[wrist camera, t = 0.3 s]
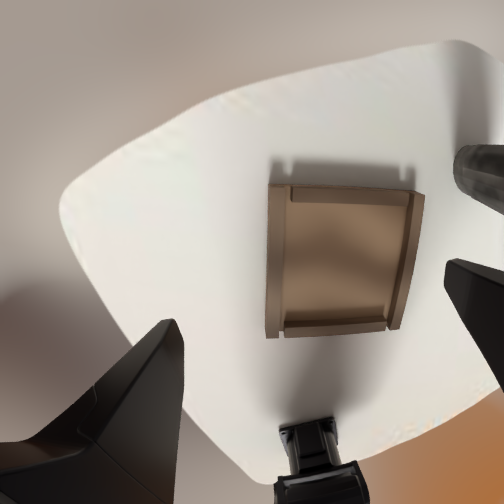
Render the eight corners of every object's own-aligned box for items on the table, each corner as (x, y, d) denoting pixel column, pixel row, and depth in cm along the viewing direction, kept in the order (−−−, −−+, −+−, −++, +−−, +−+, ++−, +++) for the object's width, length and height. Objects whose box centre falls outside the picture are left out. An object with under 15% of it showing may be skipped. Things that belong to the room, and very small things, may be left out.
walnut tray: (392, 320, 27) (399, 329, 25) (264, 327, 26) (266, 338, 25) (415, 191, 22) (425, 195, 21) (268, 184, 22) (270, 187, 20)
